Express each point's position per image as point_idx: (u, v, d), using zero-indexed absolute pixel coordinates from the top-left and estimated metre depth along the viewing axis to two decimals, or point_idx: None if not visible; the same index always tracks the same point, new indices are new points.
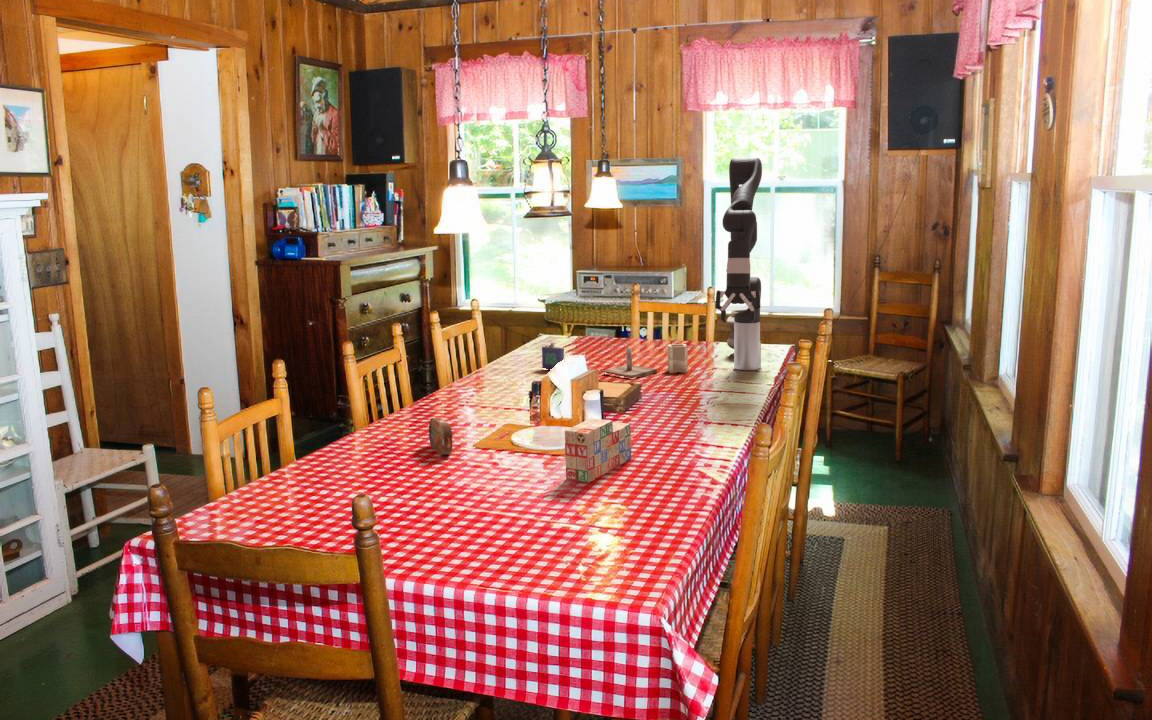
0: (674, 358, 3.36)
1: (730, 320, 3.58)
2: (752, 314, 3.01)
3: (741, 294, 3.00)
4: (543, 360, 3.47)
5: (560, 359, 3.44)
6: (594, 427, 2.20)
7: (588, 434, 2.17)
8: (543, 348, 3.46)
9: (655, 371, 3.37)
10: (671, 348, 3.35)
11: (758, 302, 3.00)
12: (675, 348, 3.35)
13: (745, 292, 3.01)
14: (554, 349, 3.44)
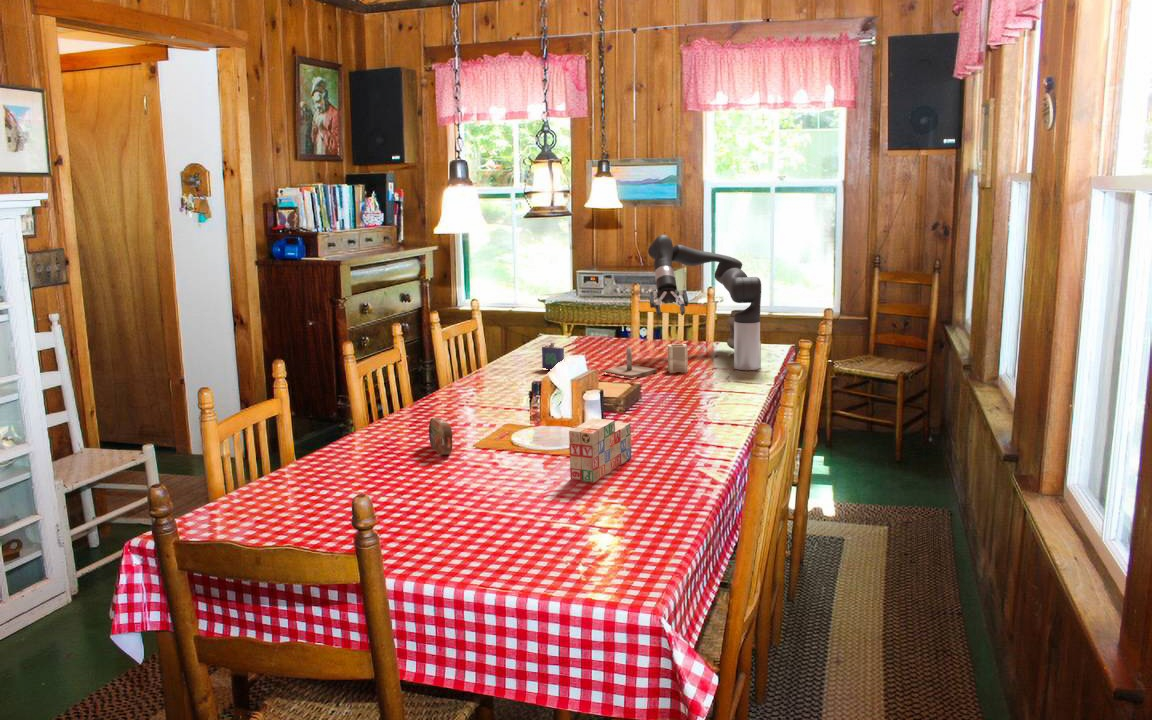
0: (674, 358, 3.36)
1: (730, 320, 3.58)
2: (683, 307, 3.49)
3: (671, 291, 3.51)
4: (543, 360, 3.47)
5: (560, 359, 3.44)
6: (598, 427, 2.20)
7: (593, 434, 2.17)
8: (543, 348, 3.46)
9: (655, 371, 3.37)
10: (671, 348, 3.35)
11: (686, 297, 3.50)
12: (675, 348, 3.35)
13: (674, 291, 3.52)
14: (554, 349, 3.44)
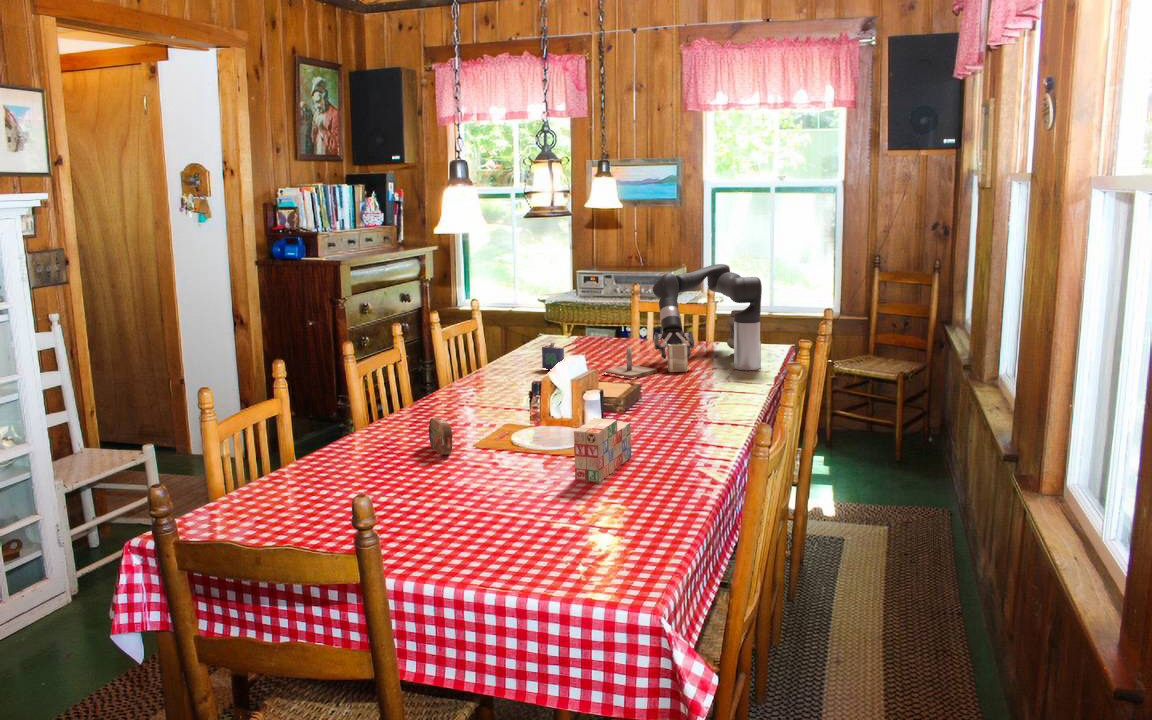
0: (674, 357, 3.36)
1: (730, 320, 3.58)
2: (688, 349, 3.40)
3: (677, 333, 3.42)
4: (543, 360, 3.47)
5: (560, 359, 3.44)
6: (602, 427, 2.20)
7: (599, 434, 2.17)
8: (543, 348, 3.46)
9: (655, 371, 3.37)
10: (671, 347, 3.36)
11: (692, 339, 3.42)
12: (675, 347, 3.36)
13: (680, 332, 3.43)
14: (554, 349, 3.44)
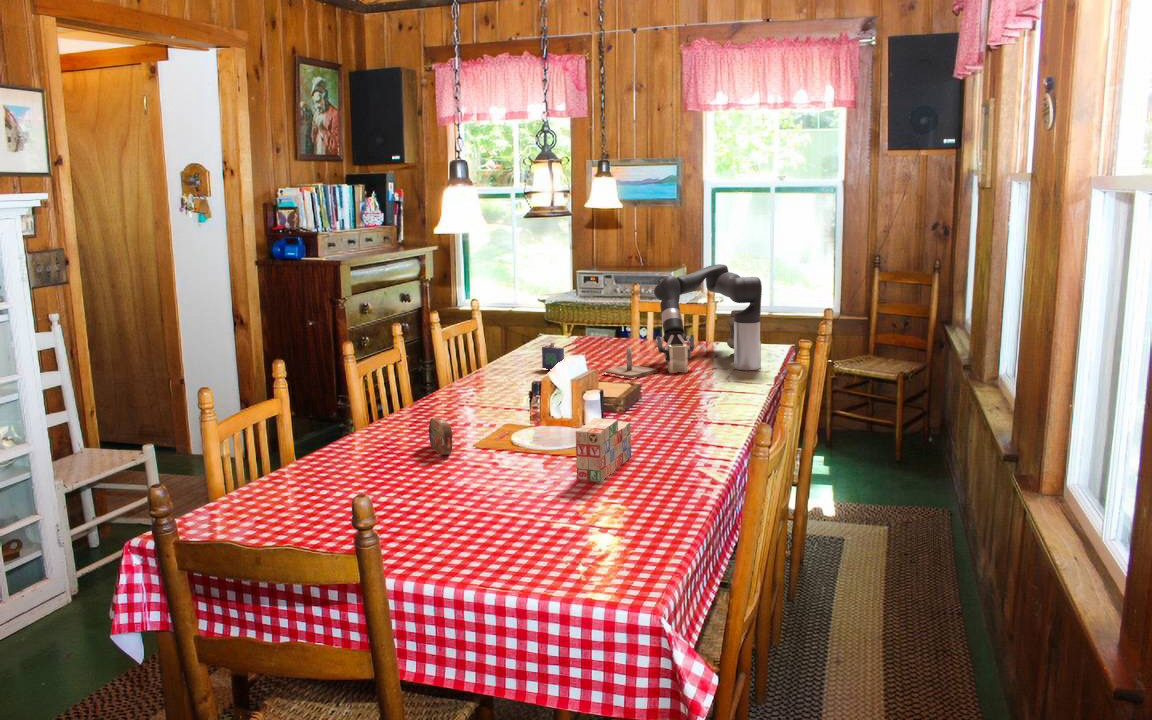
0: (674, 358, 3.36)
1: (730, 320, 3.58)
2: (688, 352, 3.38)
3: (679, 335, 3.41)
4: (543, 360, 3.47)
5: (560, 359, 3.44)
6: (604, 426, 2.21)
7: (601, 434, 2.17)
8: (543, 348, 3.46)
9: (655, 371, 3.37)
10: (671, 348, 3.35)
11: (692, 342, 3.40)
12: (675, 348, 3.35)
13: (681, 334, 3.42)
14: (554, 349, 3.44)
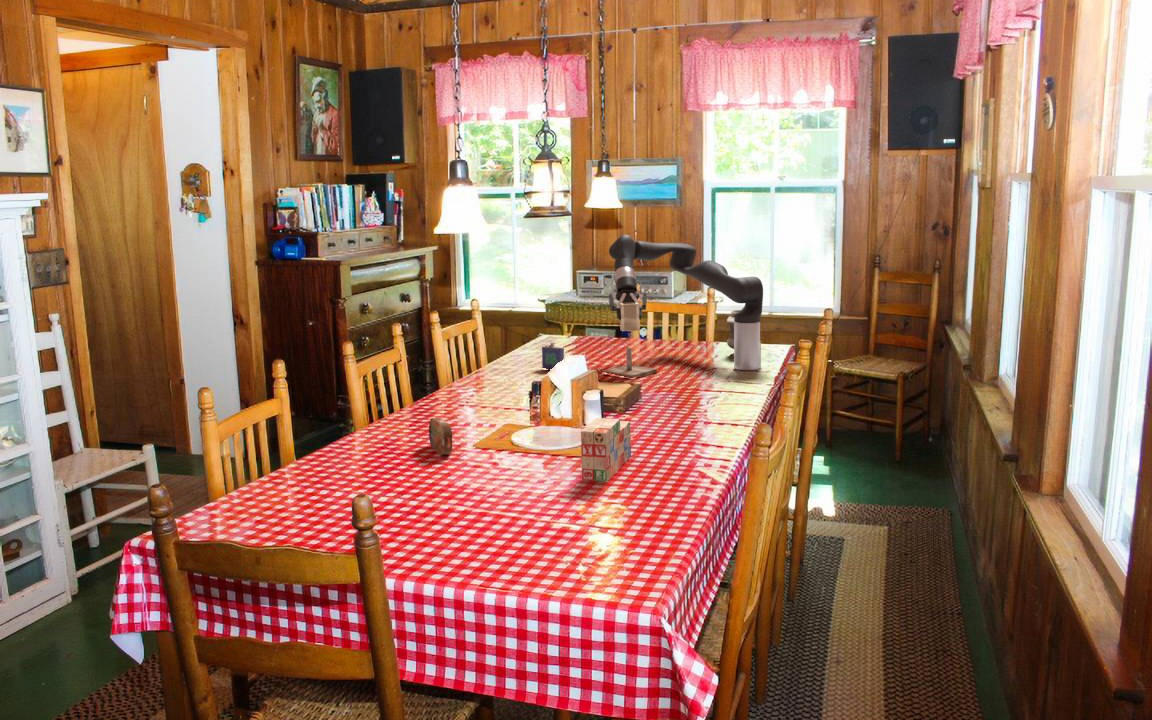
0: (626, 316, 3.32)
1: (730, 320, 3.58)
2: (640, 310, 3.34)
3: (631, 293, 3.36)
4: (543, 360, 3.47)
5: (560, 359, 3.44)
6: (608, 426, 2.21)
7: (606, 433, 2.17)
8: (543, 348, 3.46)
9: (655, 371, 3.37)
10: (622, 306, 3.31)
11: (645, 301, 3.35)
12: (626, 306, 3.31)
13: (634, 293, 3.37)
14: (554, 349, 3.44)
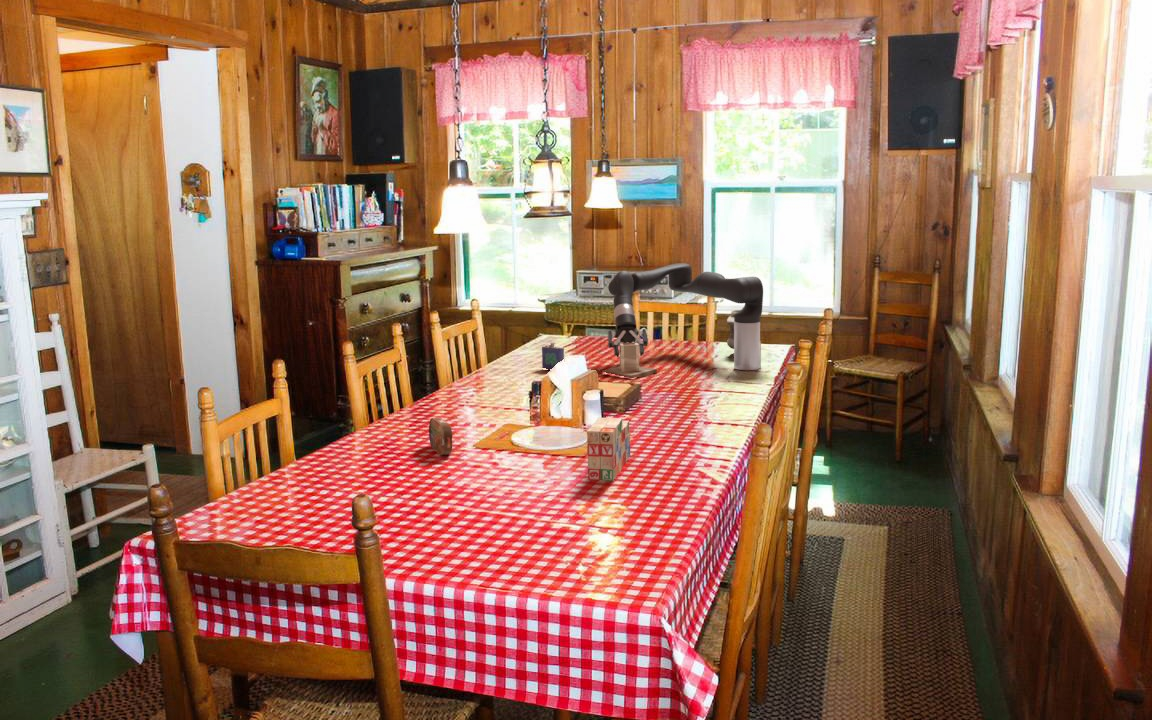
0: (626, 356, 3.33)
1: (730, 320, 3.58)
2: (642, 347, 3.36)
3: (630, 331, 3.38)
4: (543, 360, 3.47)
5: (560, 359, 3.44)
6: (613, 425, 2.21)
7: (613, 432, 2.17)
8: (543, 348, 3.46)
9: (655, 371, 3.37)
10: (622, 346, 3.33)
11: (646, 337, 3.38)
12: (626, 346, 3.33)
13: (633, 330, 3.39)
14: (554, 349, 3.44)
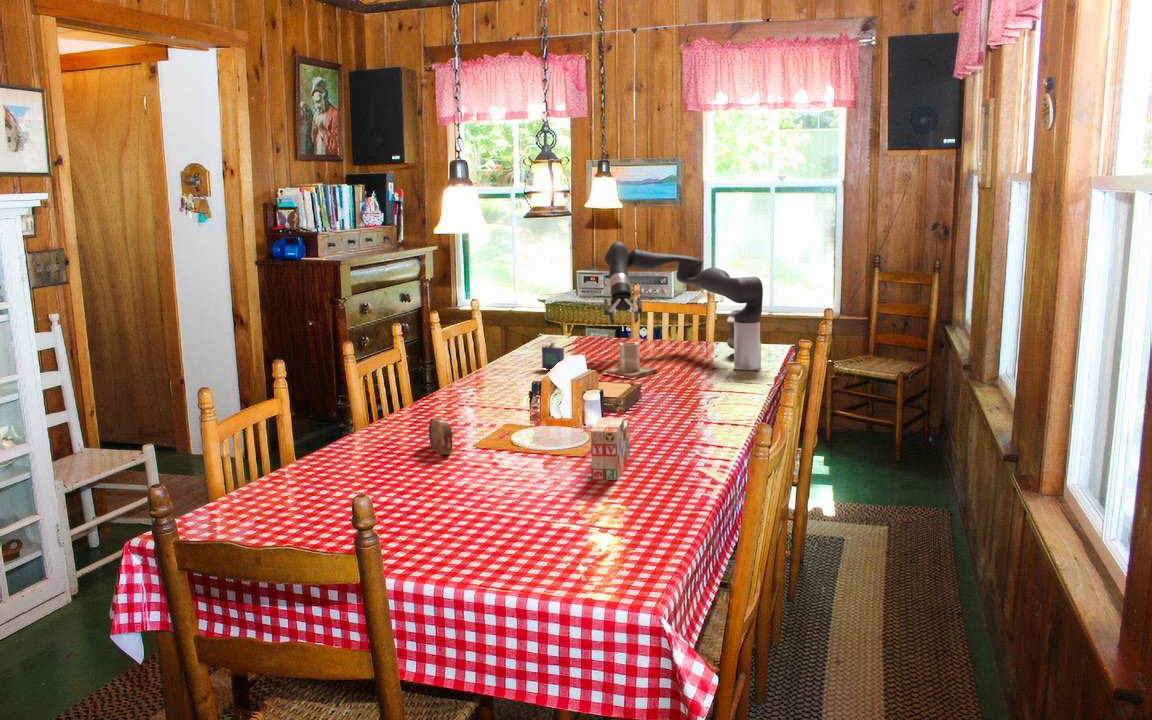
0: (626, 356, 3.34)
1: (730, 320, 3.58)
2: (636, 314, 3.47)
3: (625, 299, 3.49)
4: (543, 360, 3.47)
5: (560, 359, 3.44)
6: (616, 425, 2.21)
7: (617, 432, 2.18)
8: (543, 348, 3.46)
9: (655, 371, 3.37)
10: (623, 346, 3.33)
11: (640, 305, 3.48)
12: (627, 346, 3.33)
13: (628, 299, 3.50)
14: (554, 349, 3.44)
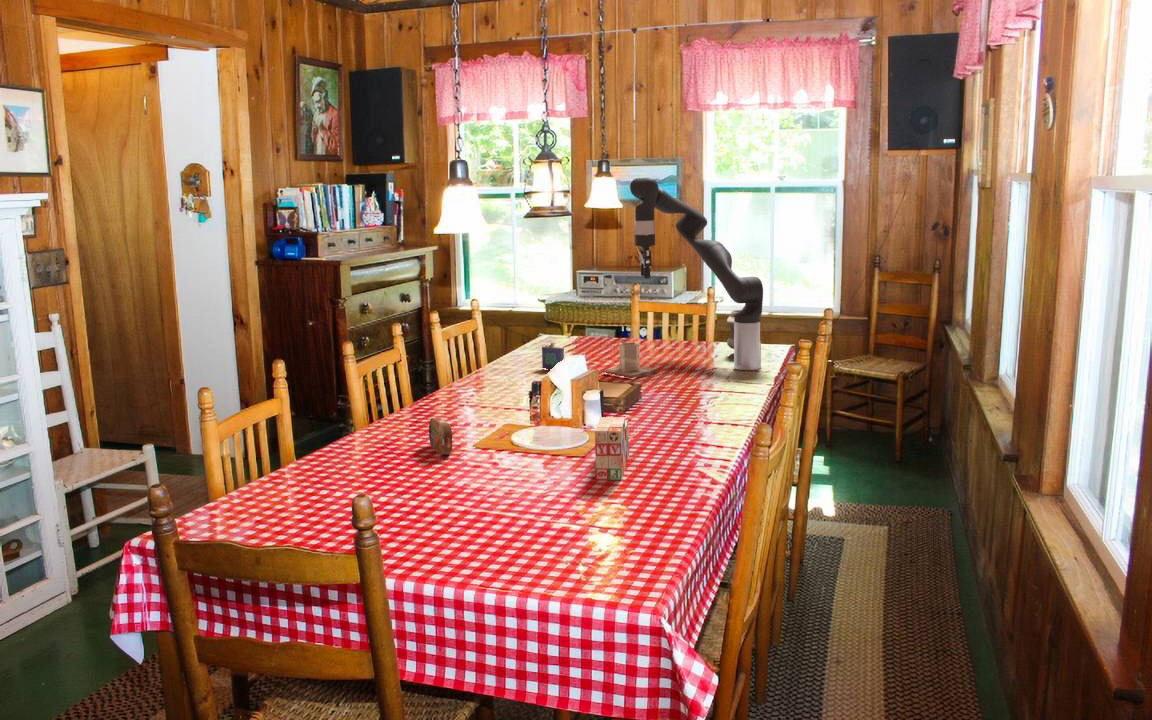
0: (626, 356, 3.34)
1: (730, 320, 3.58)
2: None
3: None
4: (543, 360, 3.47)
5: (560, 359, 3.44)
6: (619, 425, 2.22)
7: (621, 432, 2.18)
8: (543, 348, 3.46)
9: (655, 371, 3.37)
10: (623, 346, 3.33)
11: None
12: (627, 346, 3.33)
13: None
14: (554, 349, 3.44)
